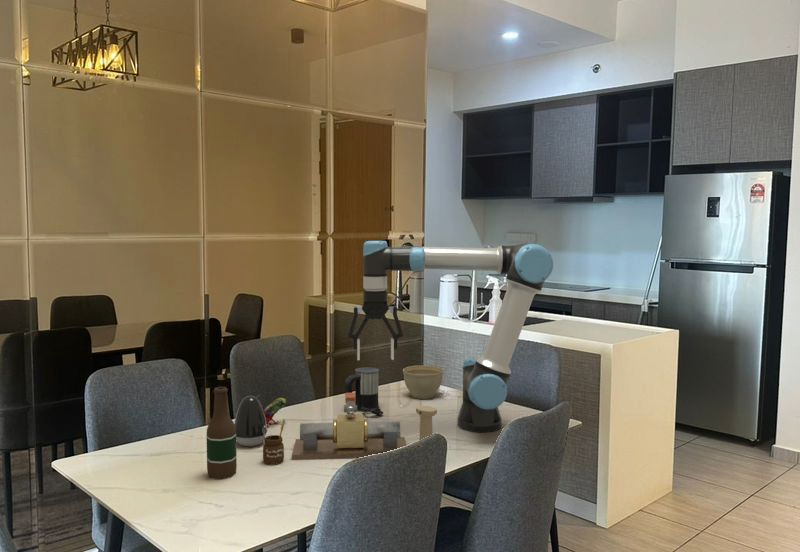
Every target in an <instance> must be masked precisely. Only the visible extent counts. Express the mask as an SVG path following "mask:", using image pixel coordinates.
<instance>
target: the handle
mask: <svg viewBox="0 0 800 552" xmlns="http://www.w3.org/2000/svg"><path fill="white" fill-rule="evenodd" d="M415 412H416V414H418V415H419V416H420V425H419V427H420V428H419V440H421V439H423V438H425V437H427V436H430V435H433V436H434V433H433V417H434V416H436V415H437V413H438V408H436V407H433V406H429V405H420V406H416V407H415ZM419 440H418V441H419Z"/></svg>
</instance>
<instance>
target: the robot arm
mask: <svg viewBox="0 0 800 552" xmlns="http://www.w3.org/2000/svg"><path fill="white" fill-rule="evenodd" d="M362 250H363V252H362V254H363V255H362V263H363V266H362V269H363V272H362V273H363V276H362V277H363V278H362V279H363V280H362V281H363V282H362V283H363V289H364V290H363V293H362V294H363V299H362V300H363V303H362V306H357V305H355V306H354V307H353V316H352V320H351V323H350V326H349V330H348V333H347V337H348V338H349V339H350V338H351V339H352V340H353V350H357V351H356V358H357V359H356V360H357V361H360V360H361V357H360V355H361V353H360V351H361V347H360V346H361V342H360V341H361V340H360V338H359V336H360V334H361V333H362V331H363V329H364V328H365V326H366V325H367V323H368V321H370V320H375V319H376V320H381V319H382V321H383V322H384V324H385V326H386V327H387V329H388V331H389V332H390V335H391V336H392V337H390V360H392V361H395V350H397V348H398V339H399V338H402V337H403V336H404V334H403V331H402V327H401V324H400V320H399V317H398V307H397V306H396V305H393V306H389V305H388V291H387V290H386V289H388V271H389V272H393V271H394V272H396V271H397V272H420V271H424V270H445V271H446V270H449V271H450V270H451V271H452V270H453V271H476V272H477V271H478V272H479V271H482V272H484V271H485V272H491V271H492V272H496V273H497V274H498V275H506V277H505V282H506V284H507V288H506V292H505V294H504V296H503V297H504V298H503V300H502V302H501V306H500V309H499V310H498V314H497V316H496V320H495V321H494V324H493V328H492V330H491V332H490V336H489V338H488V342H487V344H486V347H485V349H484V351H483V352H484V353H483V355H482V356H480V357H479V358H466V359H464V360H463V363H462V403H461V407H460V409H459V412H458V415H457V420H456V422H457V426H459V427H458V428H460V429H462V430H465V431H469V432H478V433H489V432H494V431H499V430H500V429H502V426H503V419H502V416H501V413H500V409H499V407H500V406H501V405H502V404H503V403H504V402H505V400H506V399H507V396H508V387H507V385H508V383H509V380H510V377H511V373H512V371H511V369H510V362H511V360H512V357H513V354H514V352H515V349H516V346H517V343H518V341H519V338H520V335H521V332H522V329H523V327H524V324H525V322H526V319H527V316H528V313H529V312H530V311H529V310H530V307H531V305H532V302H533V300H534V297H535V296H536V294H539V293H541V292H542V290H543V286H544V285H545V281H546V280H547V279H548V278H549V277H550V276H551V274H552V272H553V270H554V260H553V259H554V258H553V257H552V254H551V252H550V251H549V250H548V249H546V248H545V247H544V246H542V245H540V244H536V243H521V244H513V245H511V244H510V245H499V246H497V248H496V247H495V248H492V247H491V248H489V247H452V246H448V247H447V246H419V245H418V246H413V245H412V246H411V245H401V246H400V247H399V246H397V247H393V246H388V243H387V241H386V240H368V241H367V240H366V241H365V242H364V243H363V249H362ZM361 311H362V312H363V313H364V314H365V316H364V317H363V318H362V320H361V323H360V324H359V326H358V328H357V330H356V331H355V333H354V329H355V326H356V323H357V319H358V315H359V314H361ZM388 311H389V312H390V313H391V314H392V316H393V320H394V324H395V326H396V331H397V333H396V332H395V330H394V328H393V327H392V325H391V324H390V322H389V320H388V318H387V316H386V314H387V312H388Z"/></svg>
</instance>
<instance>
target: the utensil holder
mask: <svg viewBox="0 0 800 552" xmlns="http://www.w3.org/2000/svg"><path fill="white" fill-rule="evenodd" d="M285 421H286V419H284V418H283V419H282V423H281V426H280V432H279V434H266V435H265V438H264V440H263V443H264V444H263V447H262V461H263V463H264V464H265V463H266V465H269V464H275V465H279V464H282V463H283V462H284V460H285V446H284V443H283V437H282V432H283V430H284V427H285ZM267 424H268V423H267ZM267 424H266V425H267ZM264 426H265V425H264ZM264 426H263V427H264ZM265 427H267V428H268V427H269V426H265ZM269 428H270V427H269ZM268 430H269V433H272V430H271V429H267V431H266V432H267V433H268ZM263 431H264V430H263ZM281 462H282V463H281Z"/></svg>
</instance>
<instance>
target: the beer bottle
mask: <svg viewBox="0 0 800 552" xmlns="http://www.w3.org/2000/svg"><path fill="white" fill-rule="evenodd" d="M228 391H229V390H228V388H227V386H217V387H215V388H214V389H213V394H214V400H213V401H214V402H213V412H212V413H213V414H212V418H211V420H210V421H209V423H208V425H207V428H206V470H207V475H208V476H209V478H211V479H212V478H214V480H225V479H228V477H229V478H232V477H233V476H234V475H235V474H236V473H237V468H238V467H237V465H238V464H237V440H236V427H235V425H234V423H235V421H233V420H232V418H231V417H230V413H229V404H228ZM224 478H225V479H224Z"/></svg>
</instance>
